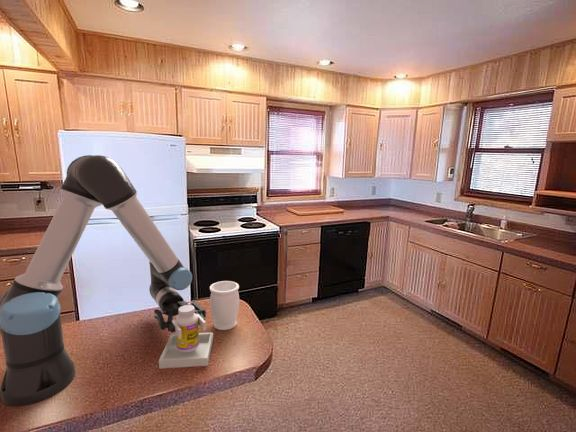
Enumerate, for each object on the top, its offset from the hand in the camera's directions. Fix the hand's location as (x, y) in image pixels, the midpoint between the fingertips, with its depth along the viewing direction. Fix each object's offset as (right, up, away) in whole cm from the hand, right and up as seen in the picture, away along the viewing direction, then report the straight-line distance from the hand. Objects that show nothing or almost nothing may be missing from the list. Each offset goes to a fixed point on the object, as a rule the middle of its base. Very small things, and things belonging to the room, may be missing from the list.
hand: (192, 330), depth 88 cm
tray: (-3, -9, +6) cm, 11 cm away
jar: (+5, -7, +23) cm, 24 cm away
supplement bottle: (-3, -7, +5) cm, 10 cm away
